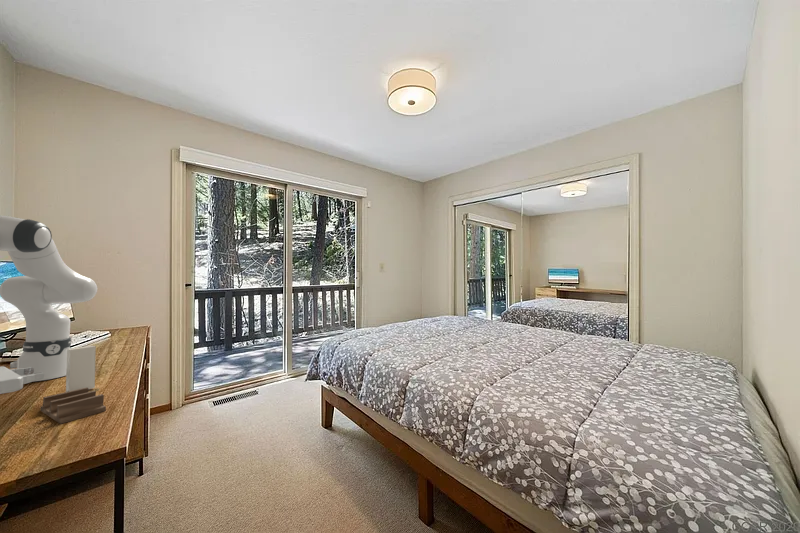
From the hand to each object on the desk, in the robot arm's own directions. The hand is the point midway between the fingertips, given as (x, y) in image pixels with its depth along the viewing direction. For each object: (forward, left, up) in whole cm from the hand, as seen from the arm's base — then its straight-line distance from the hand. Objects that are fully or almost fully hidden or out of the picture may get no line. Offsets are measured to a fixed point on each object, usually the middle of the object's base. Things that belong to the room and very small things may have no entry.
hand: (38, 372), depth 90 cm
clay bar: (-1, +10, -9) cm, 13 cm away
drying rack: (+15, +4, -10) cm, 18 cm away
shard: (0, +10, -11) cm, 14 cm away
